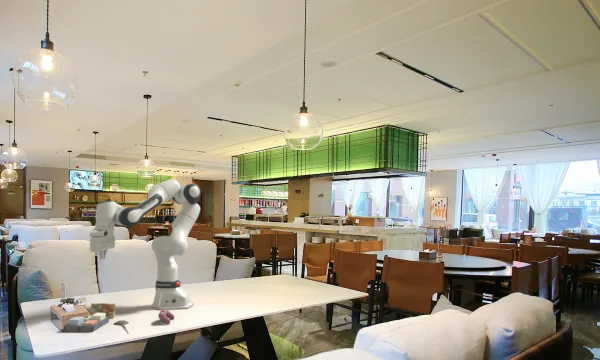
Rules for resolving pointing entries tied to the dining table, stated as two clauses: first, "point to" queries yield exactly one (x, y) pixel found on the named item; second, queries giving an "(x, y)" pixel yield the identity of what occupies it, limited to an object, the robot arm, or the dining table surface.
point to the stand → (103, 309)
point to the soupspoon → (122, 322)
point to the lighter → (67, 301)
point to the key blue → (76, 321)
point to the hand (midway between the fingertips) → (102, 259)
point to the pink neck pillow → (165, 316)
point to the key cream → (98, 316)
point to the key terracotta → (90, 322)
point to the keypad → (85, 326)
